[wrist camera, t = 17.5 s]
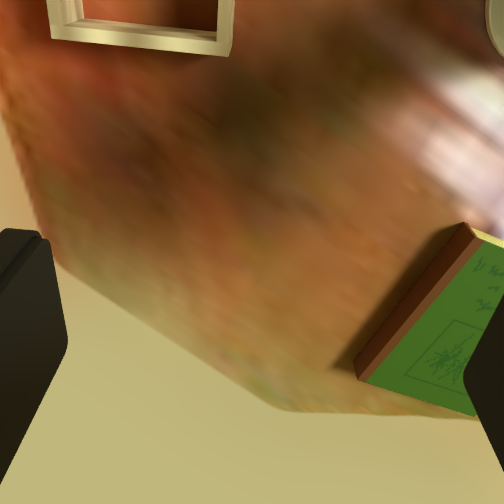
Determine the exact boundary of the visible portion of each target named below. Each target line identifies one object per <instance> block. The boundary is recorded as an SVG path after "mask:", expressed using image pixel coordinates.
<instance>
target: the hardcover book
mask: <svg viewBox="0 0 504 504" xmlns="http://www.w3.org/2000/svg"><path fill="white" fill-rule="evenodd" d="M503 294H504V241H503V240H501V239H498V238H496V237H493V236H491V235H489V234H486V233H484V232H481V231H479V230H477V229H474V228H472V227H470V226H469V225H468V223H465V222H463V223H462V225H461V226H460V227H459V228H458V230H457V231H456V232H455V233H454V235H453V236H452V237H451V238H450V240H449V241H448V242H447V244H446V245H445V246H444V247H443V249H442V250H441V251H440V252H439V254H438V255H437V256H436V257H435V259H434V260H433V261H432V262H431V264H430V265H429V266H428V268H427V269H426V270H425V271H424V273H423V274H422V275H421V276H420V278H419V279H418V280H417V281H416V283H415V284H414V285H413V287H412V288H411V289H410V290H409V292H408V293H407V294H406V295H405V297H404V298H403V299H402V300H401V302H400V303H399V304H398V305H397V307H396V308H395V309H394V311H393V312H392V313H391V314H390V316H389V317H388V318H387V319H386V321H385V322H384V323H383V324H382V326H381V327H380V328H379V329H378V331H377V332H376V333H375V335H374V336H373V337H372V338H371V340H370V341H369V342H368V343H367V345H366V346H365V347H364V348H363V350H362V351H361V352H360V354H359V355H358V356H357V357H356V359H355V360H354V361H353V363H354V367H355V372H356V377H357V380H359V381H362V382H366V383H369V384H372V385H375V386H378V387H381V388H385V389H388V390H391V391H394V392H397V393H400V394H403V395H407V396H410V397H413V398H416V399H419V400H422V401H426V402H429V403H432V404H435V405H438V406H441V407H445V408H448V409H451V410H454V411H457V412H460V413H464V414H467V415H470V416H473V417H474V416H475V415H477V413H476V411H475V408H474V406H473V404H472V402H471V400H470V398H469V395H468V393H467V391H466V389H465V386H464V383H463V372H464V369H465V367H466V365H467V363H468V361H469V359H470V357H471V356H472V354H473V352H474V350H475V348H476V346H477V344H478V342H479V340H480V338H481V336H482V334H483V333H484V331H485V329H486V327H487V325H488V323H489V321H490V319H491V317H492V315H493V313H494V311H495V310H496V308H497V306H498V304H499V302H500V300H501V298H502V296H503Z"/></svg>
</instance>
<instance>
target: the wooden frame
mask: <svg viewBox="0 0 504 504" xmlns="http://www.w3.org/2000/svg"><path fill="white" fill-rule="evenodd" d="M46 2H47V9H48V16H49V23H50V30H51V37H52V39H62V40H71V41H81V42H90V43H100V44H110V45H119V46H129V47H138V48H148V49H158V50H167V51H177V52H186V53H196V54H206V55H215V56H225V57H228V56H229V53H230V51H231V48H232V39H233V23H234V7H235V0H218V19H217V32H211V31H202V30H193V29H183V28H174V27H164V26H155V25H145V24H136V23H127V22H117V21H108V20H98V19H89V18H84V13H83V3H82V0H46Z"/></svg>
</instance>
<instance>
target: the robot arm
mask: <svg viewBox="0 0 504 504" xmlns="http://www.w3.org/2000/svg"><path fill="white" fill-rule="evenodd" d="M485 20H486V26H487V32H488V34H489V37H490V40H491V42H492V44H493V46H494V47H495V49H496V50H497V51H498V53H499V54H500V55H501V56H502V57H504V0H486V5H485ZM67 344H68V336H67V331H66V325H65V320H64V314H63V309H62V304H61V298H60V293H59V288H58V282H57V277H56V272H55V266H54V261H53V256H52V250H51V245H50V242H49V241H48V240H47V239H42V237H41V235H40V233H39V232H38V231H34V230H22V229H12V228H6V229H4V230H3V231H1V232H0V484H1V482H2V480H3V478H4V476H5V474H6V472H7V470H8V468H9V466H10V464H11V462H12V460H13V458H14V456H15V454H16V452H17V450H18V448H19V446H20V444H21V442H22V440H23V438H24V435H25V434H26V432H27V430H28V428H29V425H30V424H31V422H32V420H33V418H34V416H35V414H36V411H37V409H38V407H39V405H40V403H41V401H42V399H43V397H44V395H45V393H46V391H47V389H48V387H49V385H50V383H51V381H52V379H53V377H54V375H55V373H56V371H57V369H58V367H59V365H60V363H61V361H62V359H63V357H64V355H65V352H66V349H67ZM463 383H464V386H465V389H466V391H467V393H468V395H469V398H470V400H471V402H472V404H473V406H474V408H475V411H476V413H477V415H478V417H479V419H480V421H481V424H482V426H483V428H484V430H485V432H486V434H487V436H488V439H489V441H490V443H491V445H492V447H493V449H494V452H495V454H496V456H497V458H498V460H499V463H500V464H501V467H502V469H503V471H504V294H503V296H502V298H501V300H500V302H499V304H498V306H497V308H496V310H495V311H494V313H493V315H492V317H491V319H490V321H489V323H488V325H487V327H486V329H485V331H484V333H483V334H482V336H481V338H480V340H479V342H478V344H477V346H476V348H475V350H474V352H473V354H472V356H471V357H470V359H469V361H468V363H467V365H466V367H465V369H464V372H463Z"/></svg>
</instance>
